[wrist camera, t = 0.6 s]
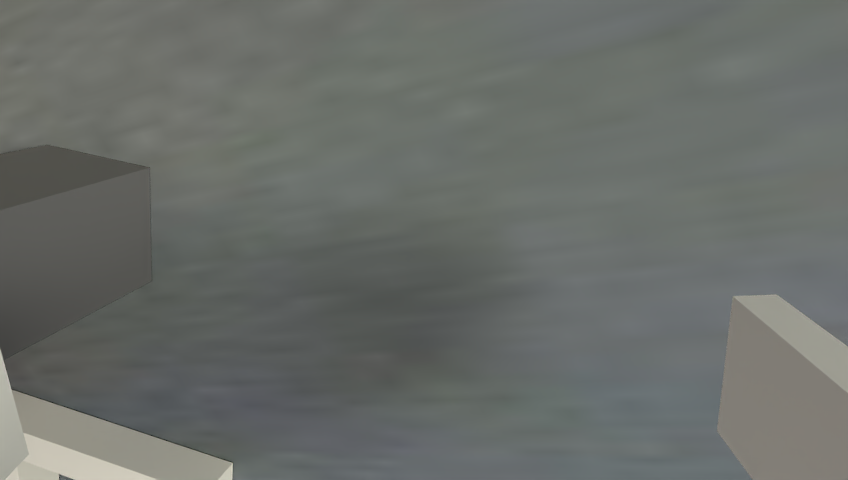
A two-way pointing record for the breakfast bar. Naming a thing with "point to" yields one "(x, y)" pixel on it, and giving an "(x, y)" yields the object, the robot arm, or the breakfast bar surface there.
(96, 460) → the white base plate
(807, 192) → the breakfast bar surface
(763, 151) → the breakfast bar surface
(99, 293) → the block
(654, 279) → the breakfast bar surface
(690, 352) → the breakfast bar surface
